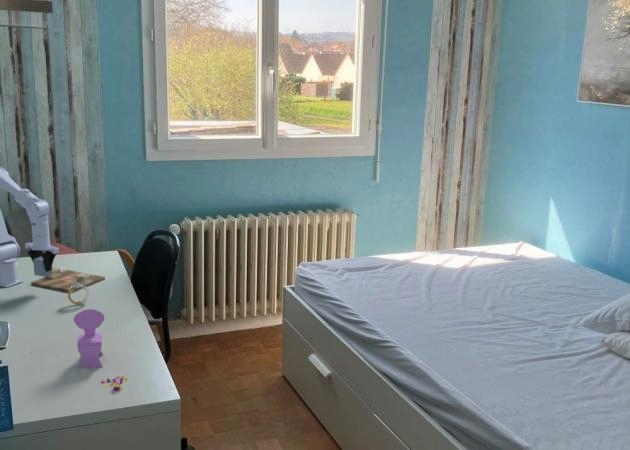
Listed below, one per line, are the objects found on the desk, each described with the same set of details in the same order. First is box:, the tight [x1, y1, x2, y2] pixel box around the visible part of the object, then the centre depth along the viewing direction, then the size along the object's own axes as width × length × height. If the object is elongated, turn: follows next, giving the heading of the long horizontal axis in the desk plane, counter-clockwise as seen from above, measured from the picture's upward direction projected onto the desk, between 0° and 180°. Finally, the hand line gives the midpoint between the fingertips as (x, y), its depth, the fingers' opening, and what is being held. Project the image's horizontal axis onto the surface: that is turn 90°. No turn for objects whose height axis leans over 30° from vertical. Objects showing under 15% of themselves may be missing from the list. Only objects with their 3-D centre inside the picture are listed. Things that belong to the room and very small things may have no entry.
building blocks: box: [101, 375, 128, 392], centre depth 177 cm, size 6×8×2 cm
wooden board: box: [30, 266, 106, 294], centre depth 257 cm, size 20×18×4 cm
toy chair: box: [73, 308, 105, 370], centre depth 188 cm, size 8×9×15 cm
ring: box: [67, 282, 90, 306], centre depth 233 cm, size 7×3×8 cm, turn 110°
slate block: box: [32, 257, 53, 278], centre depth 243 cm, size 4×4×6 cm
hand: (43, 269), depth 244 cm, fingers closed on slate block, 4 cm apart
